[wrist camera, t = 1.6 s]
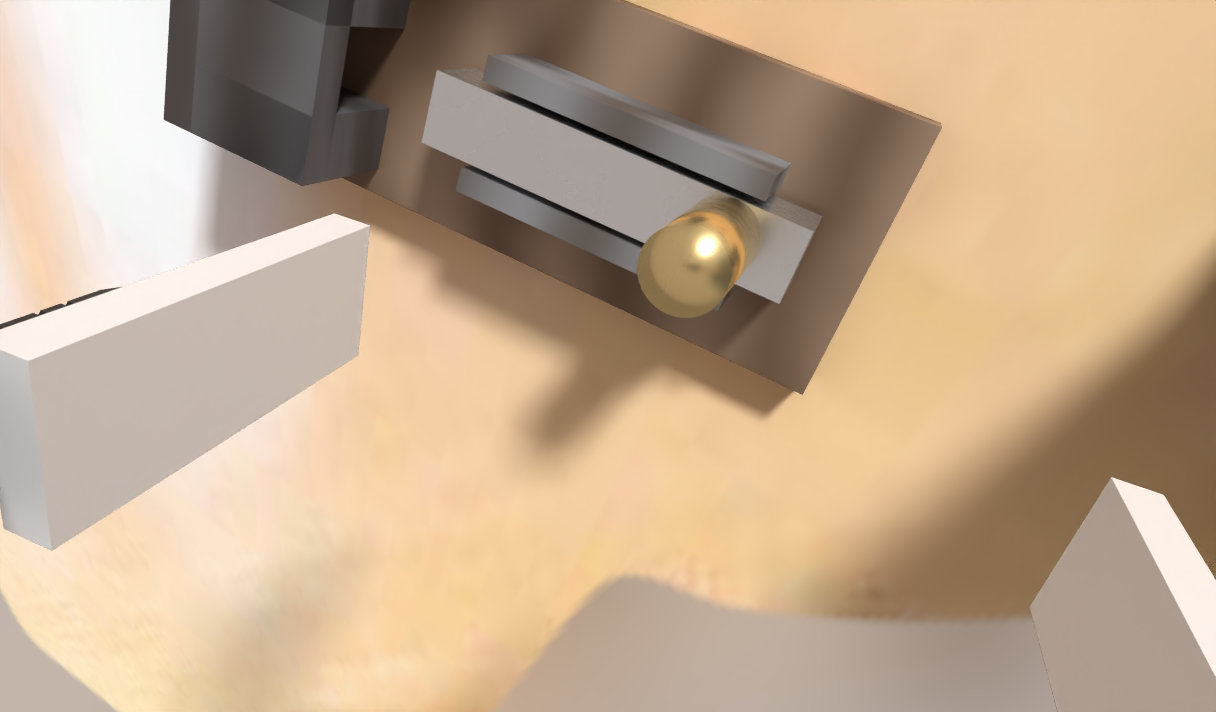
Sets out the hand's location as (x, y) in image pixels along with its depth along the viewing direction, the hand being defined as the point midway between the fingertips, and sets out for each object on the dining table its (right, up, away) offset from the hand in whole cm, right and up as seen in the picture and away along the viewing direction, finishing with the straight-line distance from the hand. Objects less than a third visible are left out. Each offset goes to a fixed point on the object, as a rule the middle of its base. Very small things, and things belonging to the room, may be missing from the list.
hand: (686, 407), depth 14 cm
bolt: (0, +9, +19) cm, 21 cm away
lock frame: (-3, +11, +22) cm, 25 cm away
